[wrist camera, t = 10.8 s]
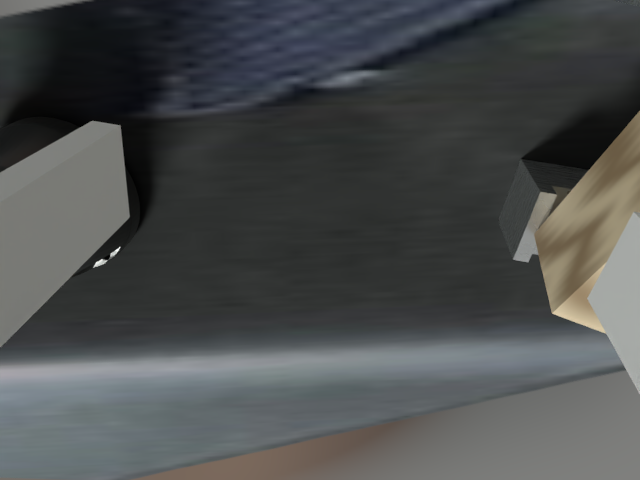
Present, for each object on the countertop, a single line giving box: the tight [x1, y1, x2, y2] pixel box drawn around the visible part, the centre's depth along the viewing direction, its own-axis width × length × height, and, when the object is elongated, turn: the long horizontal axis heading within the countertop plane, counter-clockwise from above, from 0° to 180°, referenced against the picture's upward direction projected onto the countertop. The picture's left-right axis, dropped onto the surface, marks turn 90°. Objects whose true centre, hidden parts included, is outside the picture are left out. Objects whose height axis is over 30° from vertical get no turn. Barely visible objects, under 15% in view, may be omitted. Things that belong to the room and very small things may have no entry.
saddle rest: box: [498, 159, 589, 262], centre depth 39 cm, size 10×6×6 cm, turn 83°
